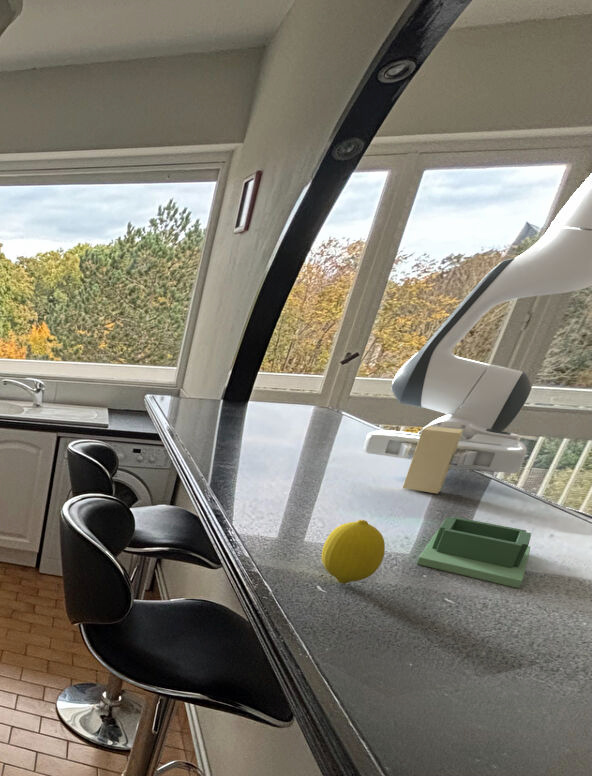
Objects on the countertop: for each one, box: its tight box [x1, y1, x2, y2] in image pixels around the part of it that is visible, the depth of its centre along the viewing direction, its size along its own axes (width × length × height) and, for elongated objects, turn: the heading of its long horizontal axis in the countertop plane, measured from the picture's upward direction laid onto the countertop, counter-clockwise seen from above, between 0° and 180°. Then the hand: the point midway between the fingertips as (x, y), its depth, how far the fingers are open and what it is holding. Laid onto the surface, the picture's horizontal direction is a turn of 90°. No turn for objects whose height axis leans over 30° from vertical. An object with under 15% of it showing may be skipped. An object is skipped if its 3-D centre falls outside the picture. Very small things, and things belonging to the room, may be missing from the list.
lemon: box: [321, 519, 386, 585], centre depth 68 cm, size 6×6×8 cm
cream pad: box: [402, 425, 463, 494], centre depth 98 cm, size 4×4×10 cm
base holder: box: [416, 516, 532, 589], centre depth 76 cm, size 16×9×4 cm, turn 131°
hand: (432, 457), depth 97 cm, fingers closed on cream pad, 4 cm apart
